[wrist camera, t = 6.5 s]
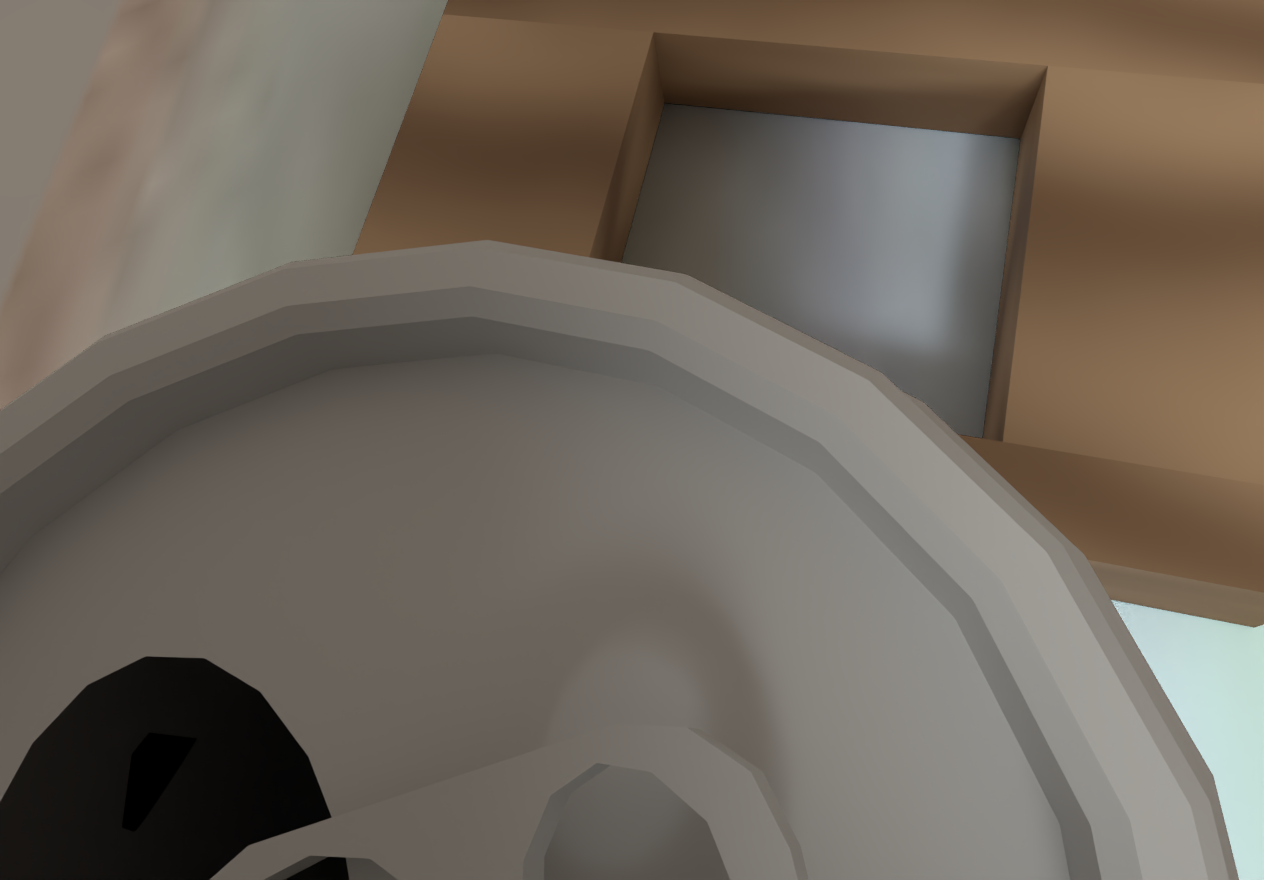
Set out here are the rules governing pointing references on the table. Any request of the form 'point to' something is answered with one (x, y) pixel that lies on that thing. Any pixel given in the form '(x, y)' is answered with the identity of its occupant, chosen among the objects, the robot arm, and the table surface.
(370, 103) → the table surface
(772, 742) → the can
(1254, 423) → the pocket board
